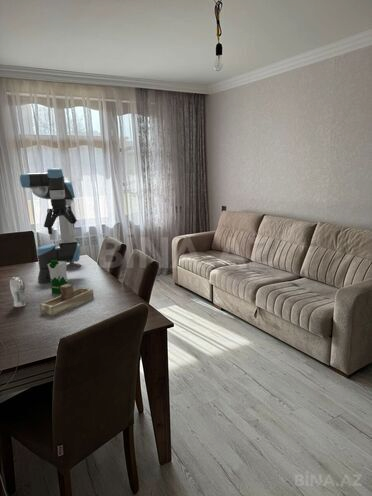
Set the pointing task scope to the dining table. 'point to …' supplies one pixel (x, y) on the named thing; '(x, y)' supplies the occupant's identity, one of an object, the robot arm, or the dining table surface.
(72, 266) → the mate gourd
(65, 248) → the robot arm
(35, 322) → the dining table surface
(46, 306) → the slot well
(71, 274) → the dining table surface
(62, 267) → the milk carton
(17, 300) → the beer glass
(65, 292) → the walnut post
